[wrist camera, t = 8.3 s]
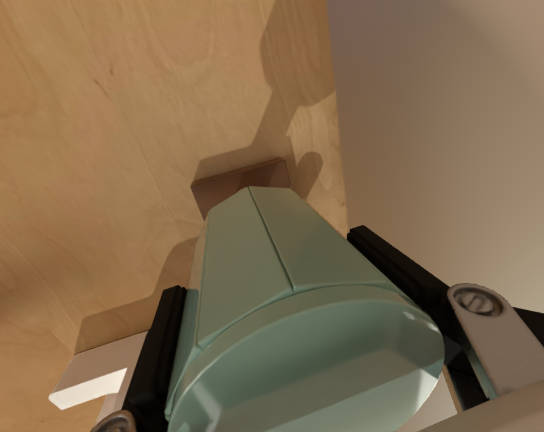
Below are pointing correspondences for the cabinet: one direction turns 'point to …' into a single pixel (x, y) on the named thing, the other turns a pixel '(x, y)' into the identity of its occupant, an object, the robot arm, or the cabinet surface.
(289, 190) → the cup
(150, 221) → the cabinet surface
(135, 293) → the cabinet surface
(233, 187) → the rack
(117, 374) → the slotted base with fin
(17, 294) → the cabinet surface
